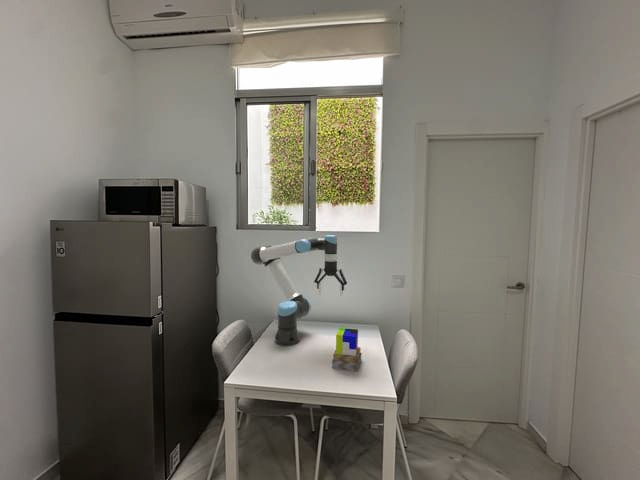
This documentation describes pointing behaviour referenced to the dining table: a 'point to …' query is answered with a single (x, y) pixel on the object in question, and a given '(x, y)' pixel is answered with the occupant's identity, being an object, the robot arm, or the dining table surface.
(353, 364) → the plinth
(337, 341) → the puzzle toy
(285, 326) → the robot arm
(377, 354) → the dining table surface
